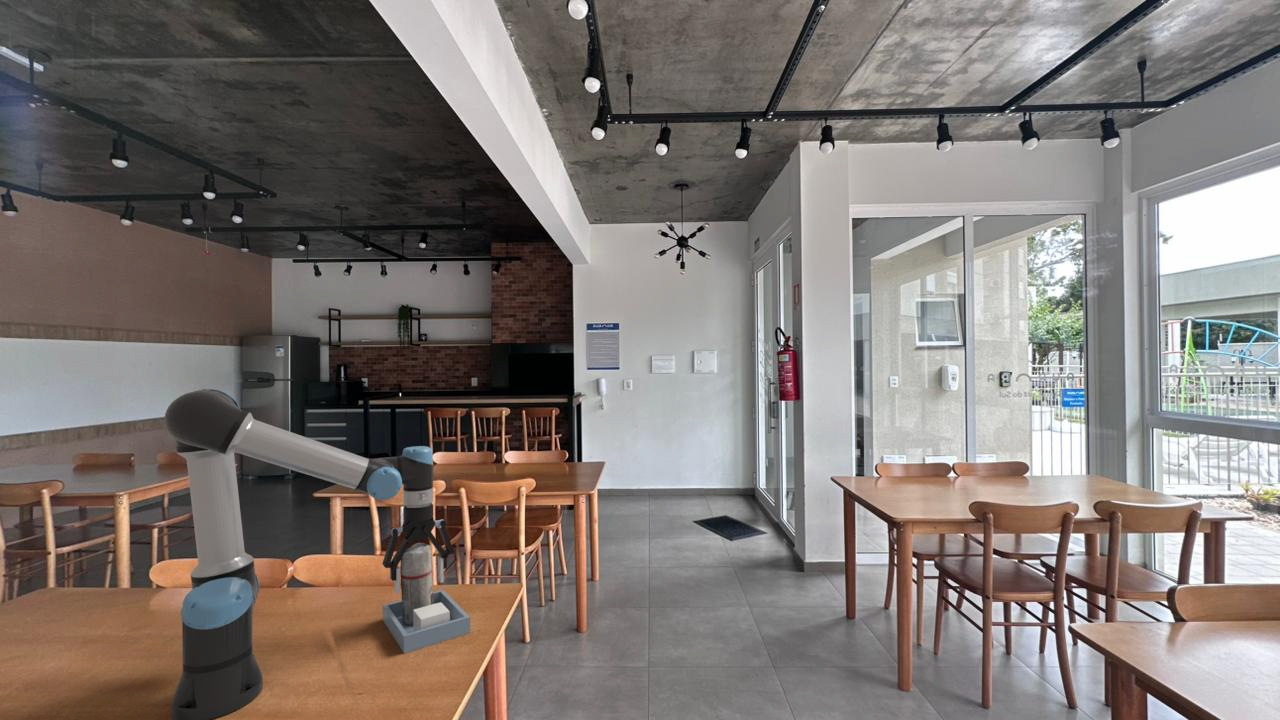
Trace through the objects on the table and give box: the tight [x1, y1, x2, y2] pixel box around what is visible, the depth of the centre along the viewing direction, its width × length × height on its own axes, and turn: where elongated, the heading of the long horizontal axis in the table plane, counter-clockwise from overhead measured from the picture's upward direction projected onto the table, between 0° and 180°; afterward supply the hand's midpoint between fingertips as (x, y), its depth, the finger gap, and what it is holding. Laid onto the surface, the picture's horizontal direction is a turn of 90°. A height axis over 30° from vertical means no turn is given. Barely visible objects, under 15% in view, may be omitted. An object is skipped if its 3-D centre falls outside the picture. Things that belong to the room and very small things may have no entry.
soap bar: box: [413, 602, 450, 632], centre depth 140 cm, size 7×7×6 cm
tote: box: [382, 589, 471, 654], centre depth 144 cm, size 16×22×5 cm
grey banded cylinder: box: [399, 542, 434, 626], centre depth 148 cm, size 8×8×20 cm
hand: (419, 586), depth 148 cm, fingers open, 10 cm apart
